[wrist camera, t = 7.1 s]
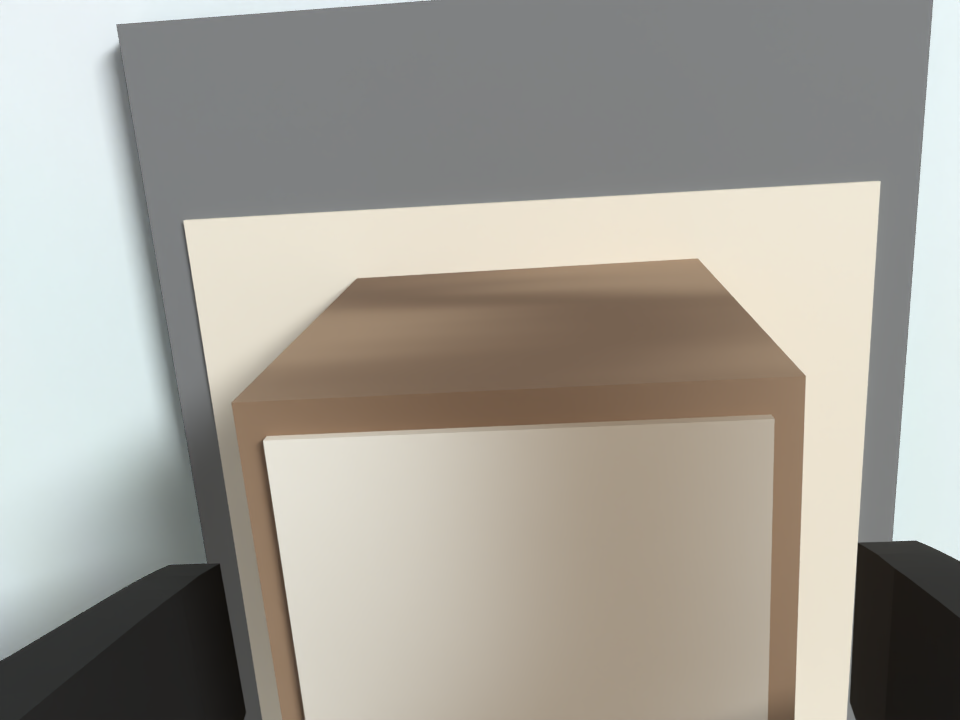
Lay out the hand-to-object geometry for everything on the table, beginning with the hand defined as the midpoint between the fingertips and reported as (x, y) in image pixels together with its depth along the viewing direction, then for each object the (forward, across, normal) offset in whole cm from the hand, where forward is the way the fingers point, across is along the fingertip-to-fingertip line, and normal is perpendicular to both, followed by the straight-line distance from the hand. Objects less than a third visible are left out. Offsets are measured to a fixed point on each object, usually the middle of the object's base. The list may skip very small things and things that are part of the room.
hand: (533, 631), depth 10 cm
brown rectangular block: (+3, 0, 0) cm, 3 cm away
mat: (+3, 0, 0) cm, 3 cm away
